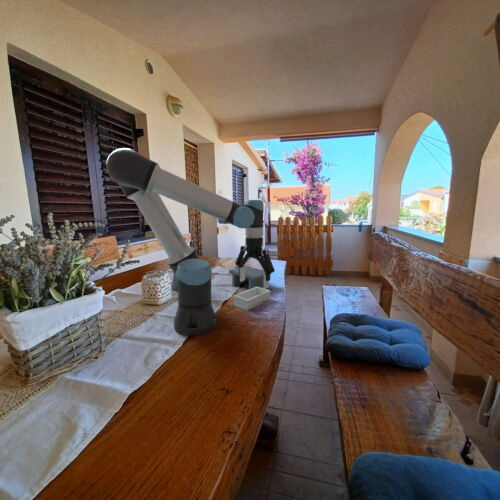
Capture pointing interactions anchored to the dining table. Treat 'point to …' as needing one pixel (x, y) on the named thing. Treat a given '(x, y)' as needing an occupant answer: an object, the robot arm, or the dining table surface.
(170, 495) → the dining table surface
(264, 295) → the pale green open box
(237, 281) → the grey drawer cabinet
